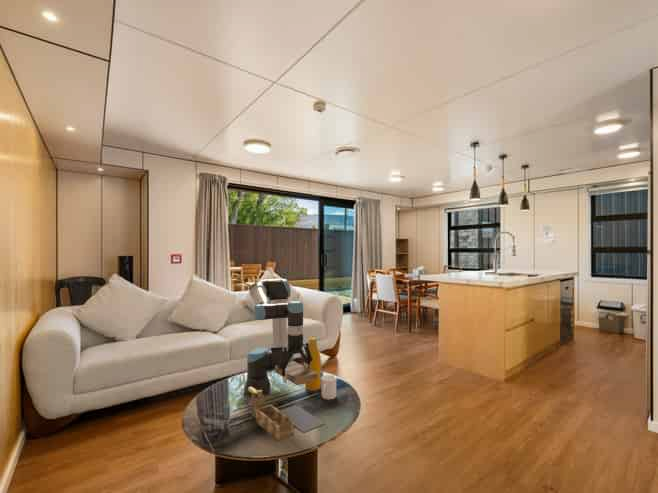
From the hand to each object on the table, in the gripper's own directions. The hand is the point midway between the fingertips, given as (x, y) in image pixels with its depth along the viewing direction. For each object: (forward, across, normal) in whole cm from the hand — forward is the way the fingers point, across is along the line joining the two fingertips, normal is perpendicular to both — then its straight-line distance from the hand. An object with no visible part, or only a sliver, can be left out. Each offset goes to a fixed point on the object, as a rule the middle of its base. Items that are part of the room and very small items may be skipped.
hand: (295, 379), depth 153 cm
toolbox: (+19, -12, +3) cm, 23 cm away
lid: (-2, 0, 0) cm, 2 cm away
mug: (+19, +26, +9) cm, 33 cm away
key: (+10, -12, +19) cm, 24 cm away
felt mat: (+19, +2, 0) cm, 19 cm away
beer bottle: (+19, +28, +25) cm, 42 cm away
